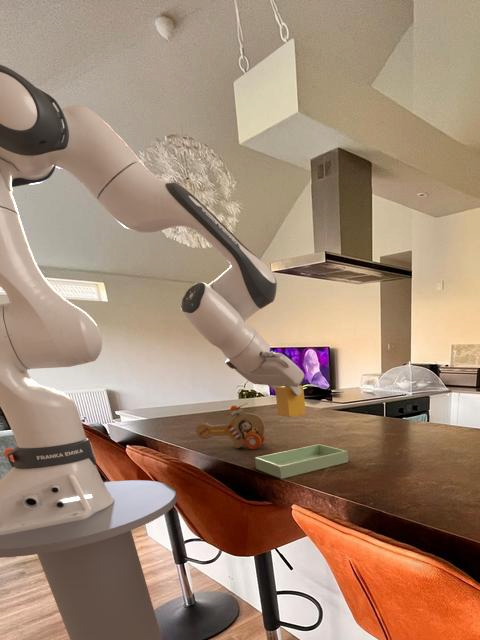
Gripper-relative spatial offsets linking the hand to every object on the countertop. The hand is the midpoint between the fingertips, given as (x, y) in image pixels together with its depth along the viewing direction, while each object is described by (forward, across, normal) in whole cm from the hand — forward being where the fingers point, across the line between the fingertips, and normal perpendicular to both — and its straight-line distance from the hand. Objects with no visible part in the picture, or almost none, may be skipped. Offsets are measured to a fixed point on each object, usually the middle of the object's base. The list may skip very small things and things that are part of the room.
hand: (291, 393), depth 105 cm
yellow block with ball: (+3, 0, +4) cm, 5 cm away
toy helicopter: (+12, +32, +14) cm, 37 cm away
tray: (+12, -3, +14) cm, 18 cm away
